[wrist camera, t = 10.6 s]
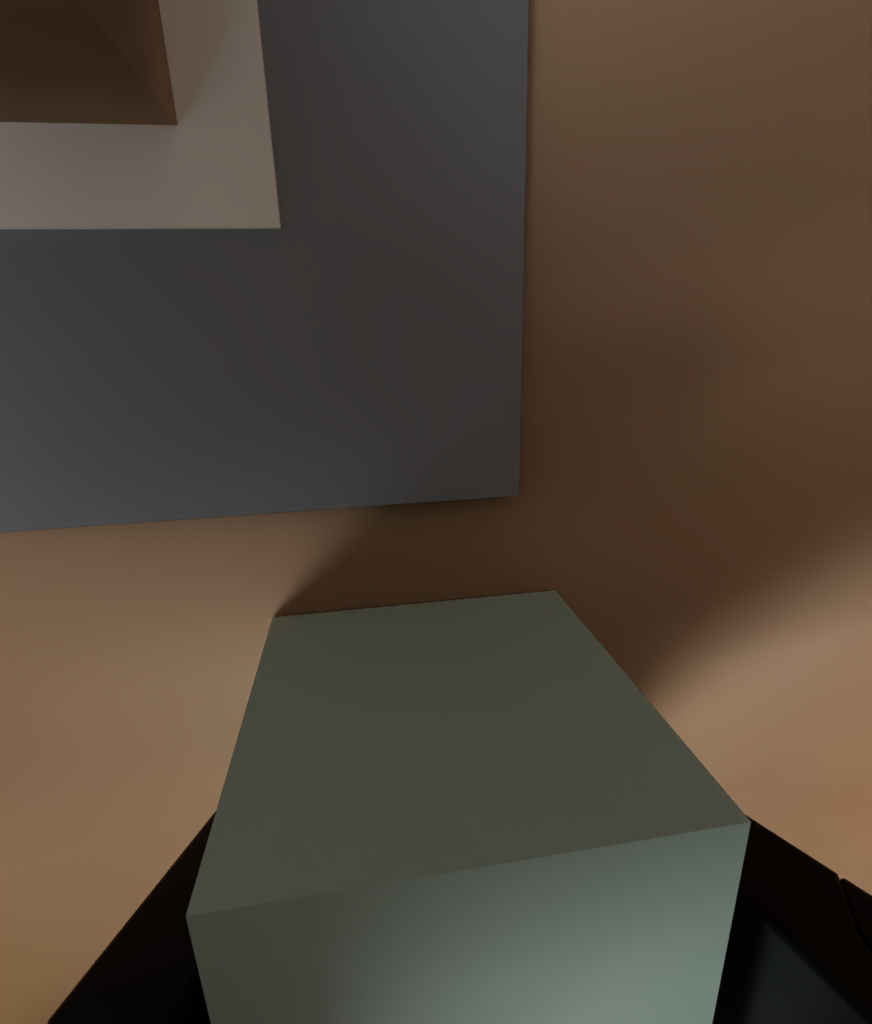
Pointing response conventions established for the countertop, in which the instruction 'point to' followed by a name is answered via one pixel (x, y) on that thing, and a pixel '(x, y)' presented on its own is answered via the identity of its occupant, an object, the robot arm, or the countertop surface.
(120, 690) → the countertop surface
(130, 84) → the walnut block
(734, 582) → the countertop surface
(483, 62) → the gray mat
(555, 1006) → the sage block
